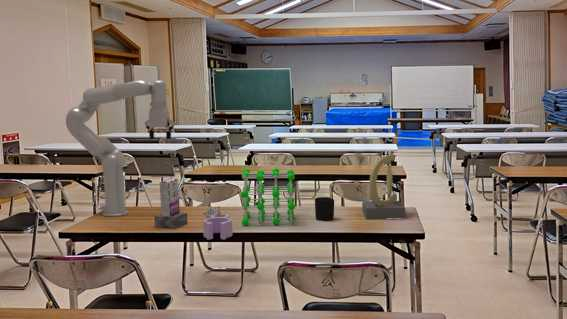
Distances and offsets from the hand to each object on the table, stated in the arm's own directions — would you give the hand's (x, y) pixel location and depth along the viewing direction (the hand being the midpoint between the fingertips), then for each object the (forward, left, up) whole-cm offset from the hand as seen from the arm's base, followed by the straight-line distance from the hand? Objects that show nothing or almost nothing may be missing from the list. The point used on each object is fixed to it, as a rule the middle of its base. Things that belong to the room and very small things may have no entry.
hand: (160, 138), depth 312 cm
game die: (+36, -14, -38) cm, 55 cm away
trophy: (+109, +26, -39) cm, 119 cm away
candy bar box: (+19, -24, -34) cm, 45 cm away
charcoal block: (+19, -24, -38) cm, 49 cm away
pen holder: (+84, +9, -39) cm, 93 cm away
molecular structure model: (+59, -1, -39) cm, 71 cm away
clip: (+48, -33, -39) cm, 70 cm away
